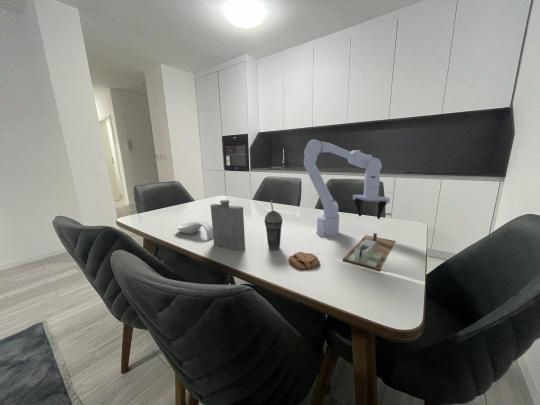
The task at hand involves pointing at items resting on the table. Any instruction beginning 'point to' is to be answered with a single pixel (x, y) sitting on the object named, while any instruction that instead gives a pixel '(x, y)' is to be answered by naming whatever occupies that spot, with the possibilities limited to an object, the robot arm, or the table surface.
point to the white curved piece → (196, 228)
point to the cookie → (304, 261)
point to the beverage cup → (273, 228)
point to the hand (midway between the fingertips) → (369, 217)
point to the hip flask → (228, 225)
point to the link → (365, 250)
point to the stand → (377, 259)
